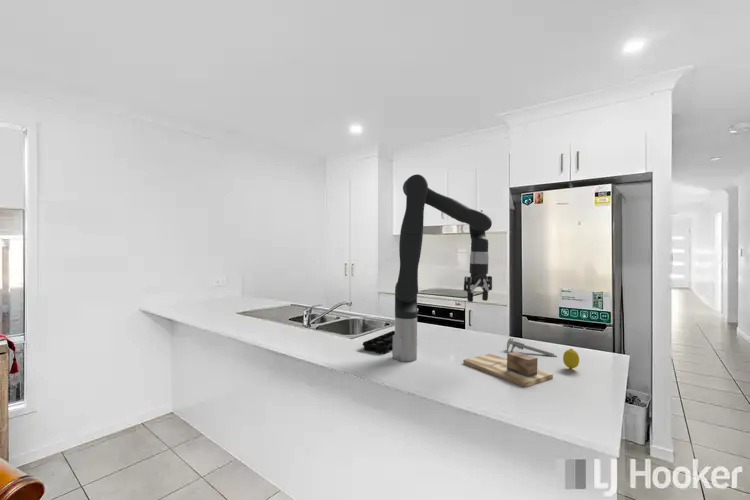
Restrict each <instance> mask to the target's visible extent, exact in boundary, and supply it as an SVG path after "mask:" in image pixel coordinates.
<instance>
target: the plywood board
mask: <svg viewBox="0 0 750 500" xmlns="http://www.w3.org/2000/svg"><path fill="white" fill-rule="evenodd" d="M462 362H463V365H467V366H469V367H472V368H474V369H477V370H480V371H482V372H484V373H487V374H490V375H491V376H492V375H493V376H495V377H498V378H500V379H502V380H505V381H508V382H511V383H513V384H515V385H518V386H521V387H524V388H526V387H531V386H533V385H536V384H540V383H542V382H545V381H549V380H553V378H554V375H553V373H550V372H547V371H545V370H543V369H538V368H537V375H534V376H531V377H526V376H523V375H521V374H518V373H515V372H512V371H509V370H507V358H504V357H501V356H498V355H495V354H492V353H488V354H483V355H479V356H474V357H470V358H466V359H463V361H462Z"/></svg>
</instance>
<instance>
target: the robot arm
mask: <svg viewBox="0 0 750 500" xmlns="http://www.w3.org/2000/svg"><path fill="white" fill-rule="evenodd" d="M402 190H403V194H404V195H405V196H406V202H405V203H406V205H405V212H404V215H403V219H402V223H401V227H400V232H399V243H398V244H399V246H398V248H399V249H398V250H399V253H398V254H399V271H398V279H397V282H396V284H395V287H394V331H395V335H393V350H392V351H391V353H392V354H391V355H392V356H391V357H392V359H394V360H396V361H399V362H413V361H416V360H417V356H418V355H417V354H418V352H417V351H418V293H419V279H418V278H419V277H418V276H419V263H420V258H421V254H422V247H423V237H424V219H425V218H424V214H425V211H424V210H425V205H426V206H427V205H428V206H430V207H432V208H434V209H436V210H438V211H440V212H441V213H443V214H445V215H446V216H448V217H451V218H452V219H454V220H456V221H458V222H460V223H463V224H467V225H469V227H468V228H469V235H470V241H471V242H470V243H471V244H470V255H469V274H470V276H464V280H463V281H464V282H463V291H464V292H467V299H466V300H467V302H468V303H469V302H470V303H473V301H474V291H475V290H476V289H477V288H479V287H480V288H481V289H482V296H481V297H482V298H481V299H482V301H488V298H489V292H490V291H492V290H493V277H492V276H491V275H488V274H489V240H488V238H487V237H486V232H487V231H489V230H490V229H491V227H492V224H493V222H492V219H491V217H489V216H488V214H486V213H483V212H481V211H479V210H477V209H474V208H471V207H469V206H467V205H466V204H464V203H462V202H460V201H458V200H456V199H454V198H452V197H449V196H446V195H443V194H441V193H438V191H437V192H436V191H435V190H433V189H431V188H430V187H429V183H428V181H427V179H426V178H425V177H424V176H423V175H422V174H413V175H411V176H409V177H408V178H407V179H406V180H405V181H404V183H403V184H402Z"/></svg>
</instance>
